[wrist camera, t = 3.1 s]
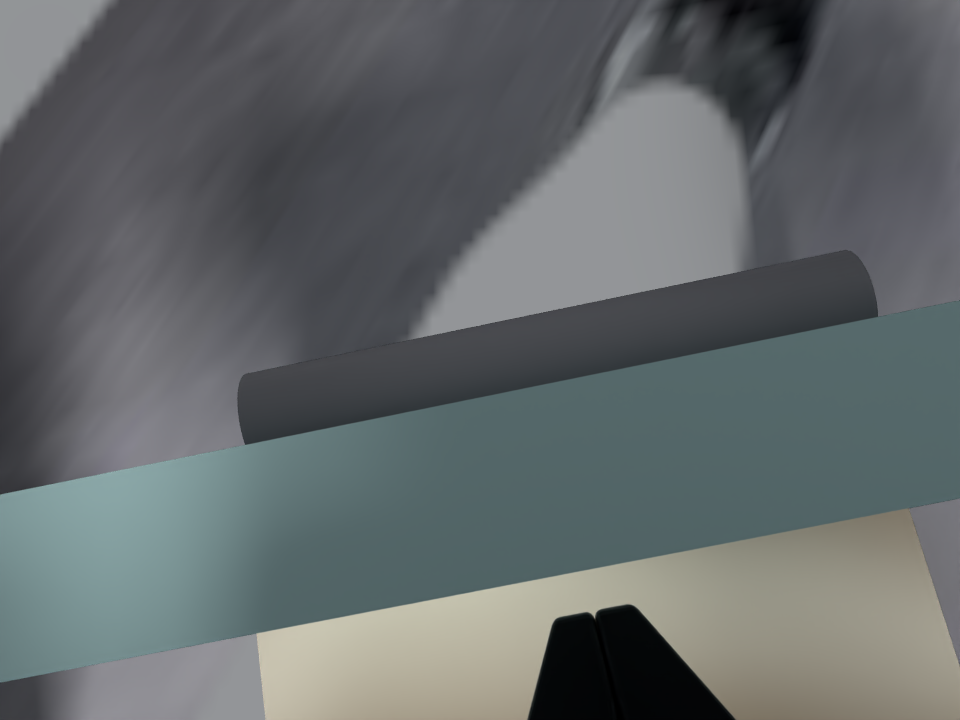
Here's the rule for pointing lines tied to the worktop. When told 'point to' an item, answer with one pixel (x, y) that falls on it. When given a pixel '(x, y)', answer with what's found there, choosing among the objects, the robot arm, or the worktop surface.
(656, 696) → the robot arm
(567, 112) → the worktop surface
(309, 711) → the plate
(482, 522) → the panel
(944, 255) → the worktop surface
